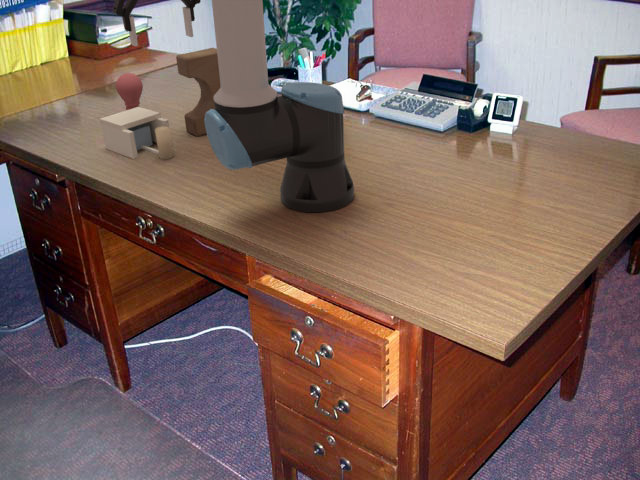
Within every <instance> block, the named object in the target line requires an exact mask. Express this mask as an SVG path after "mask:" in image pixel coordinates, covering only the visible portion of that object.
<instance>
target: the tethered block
mask: <svg viewBox="0 0 640 480" xmlns="http://www.w3.org/2000/svg"><path fill="white" fill-rule="evenodd" d="M170 129H171V128H170V126H169V127H166V126H163V127H158V128H156V129H155V133H156V139H157V142H156V144H157V145H156V146H157V149H156V148H152V147H151V146H154V144H153V141H152V138H151V132H150V126H149V125H146V124H140V125H137V126H134V127H131V128H128V129H127V130H130V131H133V132H134V138H135V144H136V149H137V151H139V150H144V151H147V152H149V153H153V154H155V155H158V156H159V159H161V160H169V159H173V158H174V156H175V155H174V148H173V140H172V135H171V130H170Z"/></svg>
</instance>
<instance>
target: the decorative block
mask: <svg viewBox="0 0 640 480" xmlns="http://www.w3.org/2000/svg"><path fill="white" fill-rule="evenodd" d="M175 58H176V59H175V60H176V65H177V74H179V75H180V76H183V77H185V78H188V79H194V80H195V81H196V82H197V83H198V86H199V89H200V97H199V100H198V101H197V104H196V105H195V106H194V108H193V109H192V110H191V111H189V112H187V113H185V114H184V123H185V131H186V132H187V133H189V134H191V135H193V136H195V137H200V136H204V135H207V132H206V128H205V114H206V112H207V111H209V110H210V109H214V95H215V94H216V93H217V91H218V90H219V89H220V87H221V84H220V75H219V65H218V56H217V47H210V48H204V49H200V50H194V51H190V52H185V53H182V54H181V53H180V54H177V55H176V57H175Z"/></svg>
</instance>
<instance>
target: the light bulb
mask: <svg viewBox="0 0 640 480" xmlns="http://www.w3.org/2000/svg"><path fill="white" fill-rule="evenodd" d="M115 89H116V91H117V94H118V96H119V97H120V98H121V100H123V102H124V105H125V111H126V110H130V109H133V108H136V107H140V104H141V103H140V99H141V96H142V93H143V90H144V87H143V81H142V80H141V78H140V77H139V76H138V75H136V74H134V73H131V72H127V73H123V74H121V75H120V76H119V77H118V78H117V80H116V83H115Z"/></svg>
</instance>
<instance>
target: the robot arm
mask: <svg viewBox="0 0 640 480" xmlns="http://www.w3.org/2000/svg"><path fill="white" fill-rule="evenodd" d="M138 1H139V0H127V1H126V0H114V4H113V7H112V14H115V15H116V16H120V17H122V22H123V29H124V31H126V32H128V33H129V40H130V45H132V46H133V47H138V46H139V42H138V37H137V29H136V25H135V17H134V16H133V15H131V14H132V12H133V11H134V8H135V7H136V5H137V3H138ZM180 2H182V3H183V4H184V5H185V6H182V13H183V14H182V15H183V23H184V28H185V29H184V30H185V36H187V37H189V38H193V37H194V31H193V22H195V20H196V19H195V10H194V9H195V7H196V5H197V4H200V3H201V0H180ZM211 6H212V15H213V16H212V17H213V25H214V26H213V27H214V37H215V44H216V49H217V56H218V65H219V75H220V84H221V87H220V89H219V90H218V91H217V93H216V94H215V95H214V109H210V110H209V111H207V112H206V114H205V128H206V132H207V134H206V136H207V138H208V141H209V144H210V146H211V149H212V150H213V153H214V154H215V156H216V158H217V160H218V161H219V163H220V164H221V165H222V166H224V167H225V168H226V169H228V170H230V171H236V170H240V169H241V170H242V169H246V168H247V169H251V168H253V167H256V166H260V165H264V164H268V163H271V162H275V161H280V160H284V159H286V166H285V169H284V173H283V176H282V180H281V184H280V189H279V193H280V201H281V203H282V204H283V205H284V206H285V207H287V208H290V209H291V210H293V211H298V212H303V213H304V212H305V213H322V212H323V213H325V212H331V211H335V210H338V209H341V208H344V207H345V206H347V205H349V204H350V203H351V202H352V201H353V200H354V198H355V185H354V181H353V179H352V176H351V173H350V170H349V168H348V166H347V163H346V158H345V130H344V128H345V127H344V114H345V110H344V102H343V95H342V93H341V92H340V90H339V89H337V88H336V87H334V86H331V85H328V84H324V83H320V82H319V83H318V82H307V81H303V82H302V81H297V82H290V83H289V82H288V83H287V84H283V85H282V87H281V91H280V96H279V95H278V92H277V90H276V89H275V88H273V86H272V85H270V84H269V75H268V59H267V47H266V33H265V17H264V4H263V0H211Z"/></svg>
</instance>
